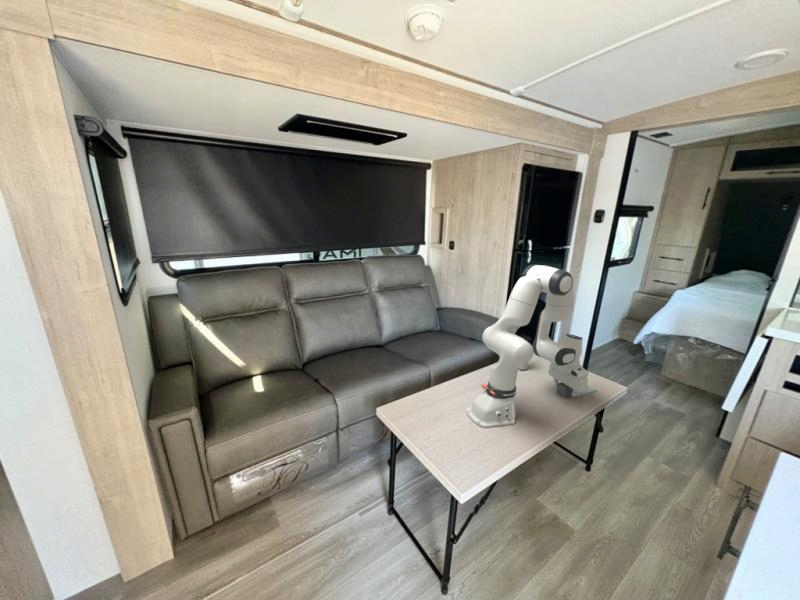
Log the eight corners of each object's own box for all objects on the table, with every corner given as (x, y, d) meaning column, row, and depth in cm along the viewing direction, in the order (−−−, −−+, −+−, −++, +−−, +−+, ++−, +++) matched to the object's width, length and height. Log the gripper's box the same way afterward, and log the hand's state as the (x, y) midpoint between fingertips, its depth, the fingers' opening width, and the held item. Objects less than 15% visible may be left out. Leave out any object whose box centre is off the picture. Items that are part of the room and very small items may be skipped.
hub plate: (576, 396, 156) (578, 387, 155) (557, 385, 167) (558, 376, 165) (596, 391, 161) (598, 382, 160) (576, 380, 172) (577, 372, 170)
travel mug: (525, 365, 188) (529, 334, 183) (528, 371, 181) (532, 339, 176) (514, 365, 188) (518, 334, 183) (517, 370, 182) (521, 338, 177)
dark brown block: (564, 398, 155) (566, 387, 153) (556, 392, 159) (557, 382, 158) (572, 395, 157) (573, 385, 155) (563, 390, 161) (565, 381, 160)
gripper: (547, 358, 162) (543, 382, 166) (582, 376, 144) (577, 403, 147) (556, 356, 164) (552, 380, 168) (592, 374, 146) (587, 400, 150)
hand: (564, 391), depth 158 cm, fingers open, 8 cm apart
